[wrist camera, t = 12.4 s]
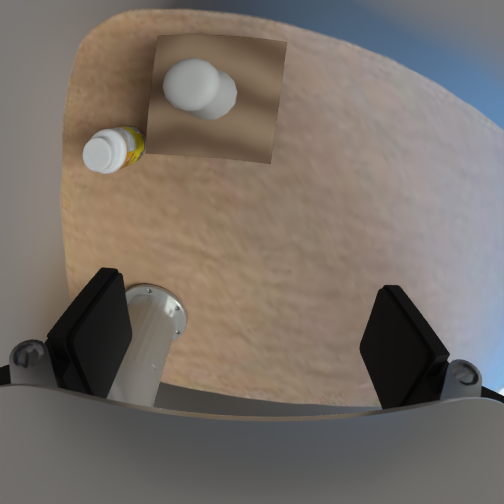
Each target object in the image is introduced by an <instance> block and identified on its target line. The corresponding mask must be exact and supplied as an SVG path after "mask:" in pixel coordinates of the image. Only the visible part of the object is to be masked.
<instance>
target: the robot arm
mask: <svg viewBox="0 0 504 504" xmlns="http://www.w3.org/2000/svg"><path fill="white" fill-rule="evenodd" d="M186 324H187V315H186V311H185V309H184V307H183V305H182V303H181V302H180V301H179V300H178V299H177V298H176V297H175V296H174V295H173V294H172V293H170V292H169V291H167V290H165V289H164V288H161V287H158V286H155V285H150V284H141V285H136V286H133V287H131V288H130V289H128V290H127V291H126V292H125V288H124V281H123V275H122V274H121V273H119V272H118V270H117V269H115V268H104V267H102V268H101V269H100V270H99V271H98V272H97V273H96V274H95V276H94V277H93V278H92V279H91V280H90V281H89V283H88V284H87V285H86V286H85V287H84V289H83V290H82V291H81V292H80V293H79V295H78V296H77V297H76V298H75V300H74V301H73V302H72V303H71V305H70V306H69V307H68V308H67V310H66V311H65V312H64V313H63V315H62V316H61V317H60V319H59V320H58V321H57V323H56V324H55V325H54V327H53V328H52V329H51V330H50V332H49V333H48V335H47V337H48V339H47V340H46V342H45V343H43V342H42V341H39V340H33V339H31V340H26V341H23V342H21V343H19V344H18V345H17V346H15V347H14V349H13V350H12V352H11V353H10V356H9V365H6V366H3V367H0V504H504V396H503V395H501V394H498V393H496V392H494V391H492V390H490V389H488V388H486V387H483V386H482V376H481V373H480V371H479V370H478V369H477V367H475V366H474V365H473V364H472V363H470V362H468V361H465V360H461V359H456V360H453V361H452V362H450V363H449V362H448V361H447V359H448V357H449V355H450V354H449V352H448V351H447V349H446V348H445V346H444V345H443V343H442V342H441V340H440V339H439V338H438V336H437V335H436V333H435V332H434V331H433V329H432V328H431V326H430V325H429V324H428V322H427V321H426V320H425V318H424V317H423V316H422V314H421V313H420V312H419V310H418V309H417V308H416V306H415V305H414V304H413V302H412V301H411V300H410V298H409V297H408V296H407V295H406V293H405V292H404V291H403V290H402V288H401V287H400V286H399V285H384V286H383V288H382V289H379V291H378V293H377V296H376V300H375V303H374V306H373V309H372V312H371V315H370V318H369V321H368V323H367V326H366V329H365V332H364V335H363V337H362V340H361V343H360V353H361V356H362V358H363V360H364V363H365V365H366V368H367V370H368V373H369V375H370V378H371V380H372V383H373V385H374V388H375V390H376V393H377V396H378V398H379V401H380V403H381V406H382V408H383V410H375V411H368V412H359V413H349V414H338V415H323V416H303V417H248V416H227V415H213V414H201V413H191V412H182V411H174V410H167V409H160V408H153V404H154V400H155V396H156V393H157V389H158V386H159V383H160V379H161V376H162V372H163V369H164V366H165V362H166V359H167V356H168V353H169V349H170V346H171V343H172V341H174V340H176V339H177V338H179V337H180V336H181V335H182V334H183V332H184V330H185V328H186Z"/></svg>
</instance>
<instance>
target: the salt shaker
mask: <svg viewBox="0 0 504 504" xmlns="http://www.w3.org/2000/svg"><path fill="white" fill-rule="evenodd" d="M163 90H164V93H165V97H166V98H167V99H168V101H169V102H170V103H171V104H172V105H173V106H174V107H175V108H178V109H181V110H184V111H189V112H190V113H191V114H192V115H193V116H194V117H197V118H200V119H203V120H213V119H218V118H220V117H221V116H223V115H225V114H227V113H228V112H229V111H230V109H231V108H232V107H233V106H234V104H235V101H236V96H237V90H236V86H235V82H234V80H233V79H232V78H231V77H230V76H229V75H228V74H227V73H225V72H223V71H220V70H217V69H215V68H214V67H213V66H212V65H211V64H210V63H209V62H207V61H204V60H201V59H198V58H190V59H183V60H181V61H179V62H178V63H176V64H174V65H172V66H171V68H170V69H169V71H168V72H167V73H166V75H165V78H164V83H163Z"/></svg>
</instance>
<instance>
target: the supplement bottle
mask: <svg viewBox="0 0 504 504" xmlns="http://www.w3.org/2000/svg"><path fill="white" fill-rule="evenodd" d="M145 147H146V141H145V137H144V135H143V133H142V132H141V131H140V130H139V129H138V128H136V127H133V126H124V127H116V128H109V129H104V130H101V131H99V132H97V133H95V134H94V135H93V136H92V138H91V139H90V140H89V141H88V142H87V144H86V145H85V147H84V149H83V160H84V163H85V165H86V166H87V167H88V168H89V169H90V170H92V171H97V172H99V173H103V174H109V173H113V172H115V171H117V170H119V169H121V168H123V167H126V166H128V165H130V164H132V163H134V162H136V161H137V160H139V159H140V158H141V157H142V155H143V153H144V151H145Z"/></svg>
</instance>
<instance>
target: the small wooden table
mask: <svg viewBox="0 0 504 504" xmlns="http://www.w3.org/2000/svg"><path fill="white" fill-rule="evenodd" d="M286 46H287V42H283V41H276V40H268V39H260V38H251V37H239V36H223V35H162V36H158V38H157V44H156V51H155V58H154V65H153V72H152V81H151V90H150V99H149V110H148V123H147V137H146V154H167V155H184V156H198V157H211V158H222V159H232V160H242V161H251V162H259V163H267V164H271V157H272V150H273V143H274V136H275V128H276V121H277V113H278V106H279V99H280V91H281V84H282V76H283V69H284V61H285V53H286ZM190 58H198V59H201V60H204V61H207V62H209V63H210V64H211V65H212V66H213V67H214V68H215V69H217V70H220V71H223V72H225V73H227V74H228V75H229V76H230V77H231V78H232V79H233V80H234V82H235V86H236V90H237V96H236V101H235V104H234V106H233V107H232V108H231V109H230V111H229V112H228V113H227V114H225V115H223V116H221V117H220V118H218V119H213V120H203V119H200V118H197V117H194V116H193V115H192V114H191V113H190V112H189V111H184V110H181V109H178V108H175V107H174V106H173V105H172V104H171V103H170V102H169V101H168V99H167V98H166V97H165V93H164V90H163V83H164V78H165V75H166V73H167V72H168V71H169V69H170V68H171V66H172V65H174V64H176V63H178V62H179V61H181V60H183V59H190Z"/></svg>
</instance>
